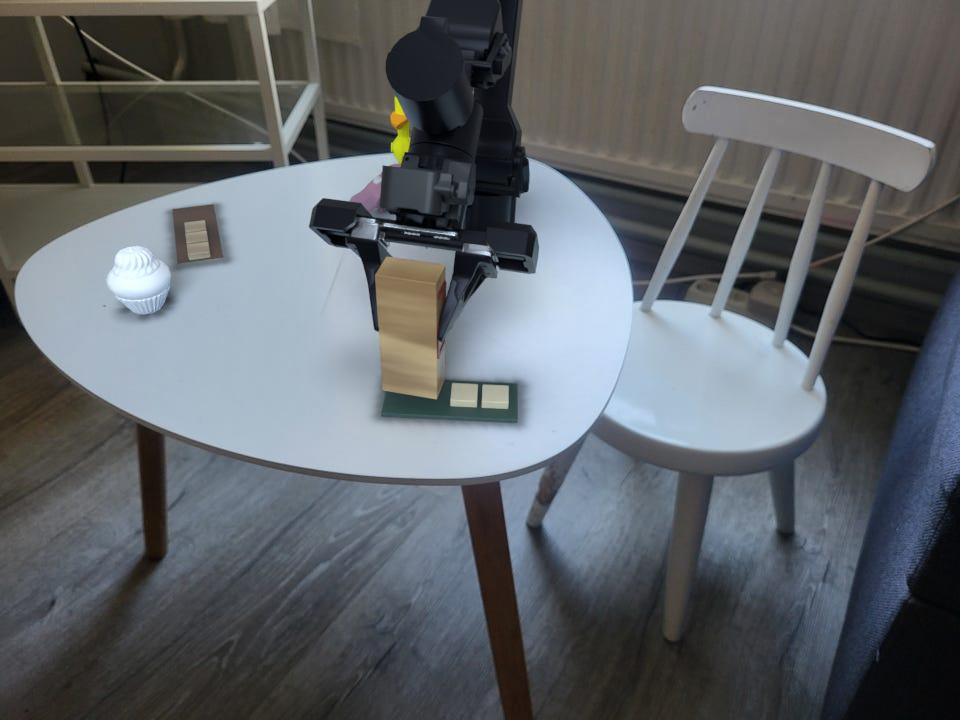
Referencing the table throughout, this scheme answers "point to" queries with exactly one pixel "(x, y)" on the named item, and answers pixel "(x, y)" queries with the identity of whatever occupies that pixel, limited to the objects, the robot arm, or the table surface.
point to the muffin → (139, 280)
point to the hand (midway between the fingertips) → (408, 336)
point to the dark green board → (458, 402)
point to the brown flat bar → (196, 234)
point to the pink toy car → (371, 194)
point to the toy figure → (400, 132)
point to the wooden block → (411, 326)
